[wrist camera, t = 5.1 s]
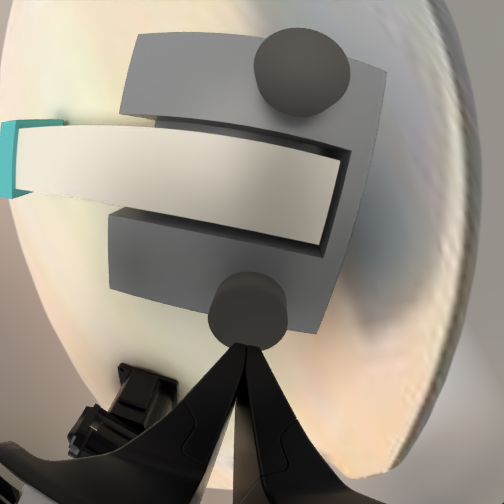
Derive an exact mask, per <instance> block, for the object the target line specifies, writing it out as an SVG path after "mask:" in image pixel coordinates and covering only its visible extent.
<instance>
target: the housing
mask: <svg viewBox="0 0 504 504" xmlns="http://www.w3.org/2000/svg"><path fill="white" fill-rule="evenodd" d="M265 39H267V38H260V37H253V36H245V35H235V34H223V33H204V32H168V33H149V34H138V37H137V40H136V44H135V47H134V51H133V54H132V58H131V62H130V65H129V69H128V73H127V77H126V82H125V86H124V91H123V96H122V101H121V106H120V111H119V114H123V115H129V116H135V117H141V118H146V119H151V120H156V122H155V127H154V128H165V129H176V130H185V131H194V132H202V133H209V134H216V135H223V136H229V137H236V138H241V139H247V140H253V141H258V142H263V143H268V144H273V145H278V146H283V147H287V148H292V149H296V150H300V151H304V152H308V153H312V154H316V155H320V156H324V157H328V158H332V159H335V160H339V161H340V165H339V170H338V174H337V178H336V182H335V186H334V190H333V194H332V198H331V202H330V206H329V210H328V214H327V217H326V221H325V225H324V229H323V232H322V236H321V239H320V243H319V245H317V244H312V243H307V242H303V241H298V240H294V239H289V238H284V237H279V236H275V235H270V234H265V233H260V232H255V231H251V230H246V229H241V228H236V227H231V226H226V225H221V224H216V223H211V222H205V221H200V220H195V219H190V218H185V217H179V216H174V215H169V214H163V213H158V212H153V211H147V210H142V209H136V208H130V207H124V208H122V209H120V210H118V211H116V212H114V213H112V214H110V215H109V218H108V261H109V284H110V289H113V290H117V291H120V292H124V293H127V294H131V295H134V296H138V297H141V298H145V299H149V300H152V301H156V302H160V303H164V304H168V305H172V306H176V307H180V308H184V309H188V310H192V311H196V312H201V313H205V314H208V313H209V309H210V306H211V304H212V301H213V298H214V296H215V293H216V290H217V288H218V287H219V285H220V284H221V283H222V282H223V281H224V280H225V279H226V278H228V277H229V276H231V275H233V274H236V273H240V272H258V273H262V274H264V275H267V276H269V277H270V278H272V279H273V280H275V281H276V282H277V283H278V284H279V285H280V286H281V288H282V289H283V291H284V294H285V296H286V303H287V316H288V326H287V330H292V331H298V332H304V333H311V334H317V331H318V329H319V326H320V324H321V321H322V319H323V316H324V313H325V311H326V308H327V305H328V303H329V300H330V297H331V294H332V292H333V289H334V286H335V283H336V280H337V277H338V275H339V272H340V269H341V266H342V263H343V260H344V256H345V253H346V250H347V247H348V244H349V241H350V237H351V234H352V231H353V227H354V224H355V221H356V217H357V213H358V210H359V206H360V203H361V199H362V195H363V191H364V187H365V183H366V179H367V175H368V171H369V167H370V163H371V158H372V154H373V149H374V145H375V140H376V135H377V130H378V125H379V119H380V114H381V108H382V102H383V96H384V90H385V83H386V76H387V72H386V71H384V70H381V69H379V68H376V67H374V66H371V65H368V64H365V63H363V62H360V61H357V60H354V59H351V58H348V57H347V59H348V62H349V66H350V73H351V76H350V82H349V86H348V88H347V91H346V92H345V94H344V95H343V96H342V98H341V99H340V100H339V101H337V102H336V103H335V104H333V105H332V106H331V107H329V108H328V109H326V110H325V111H323V112H321V113H319V114H316V115H313V116H307V117H297V116H291V115H287V114H284V113H282V112H280V111H278V110H276V109H275V108H273V107H272V106H271V105H269V104H268V103H267V102H266V101H265V99H264V98H263V97H262V95H261V94H260V92H259V89H258V87H257V83H256V79H255V74H254V58H255V54H256V52H257V50H258V48H259V46H260V45H261V44H262V42H263V41H264V40H265Z"/></svg>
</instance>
